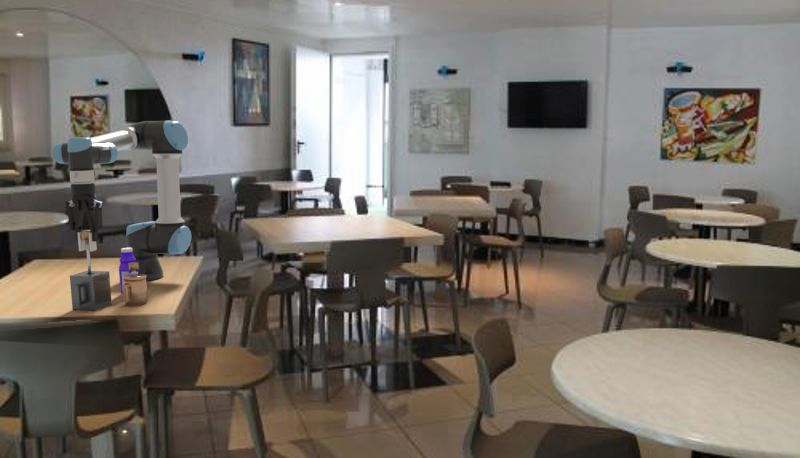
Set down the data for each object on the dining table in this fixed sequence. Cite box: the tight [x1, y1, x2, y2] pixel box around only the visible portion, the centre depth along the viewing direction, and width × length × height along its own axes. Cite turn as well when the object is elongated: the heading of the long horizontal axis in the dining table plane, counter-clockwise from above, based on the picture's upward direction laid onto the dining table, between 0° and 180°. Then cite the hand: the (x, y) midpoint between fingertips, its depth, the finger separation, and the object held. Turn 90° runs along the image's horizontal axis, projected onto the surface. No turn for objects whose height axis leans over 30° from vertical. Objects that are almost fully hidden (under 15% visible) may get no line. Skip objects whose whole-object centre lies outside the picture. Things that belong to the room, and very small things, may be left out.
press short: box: [122, 262, 148, 307], centre depth 250 cm, size 11×8×15 cm
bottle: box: [118, 247, 138, 295], centre depth 266 cm, size 7×6×17 cm
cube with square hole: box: [69, 270, 113, 312], centre depth 244 cm, size 12×9×12 cm
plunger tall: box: [81, 229, 92, 274], centre depth 244 cm, size 7×7×19 cm
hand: (87, 250), depth 244 cm, fingers closed on plunger tall, 4 cm apart
